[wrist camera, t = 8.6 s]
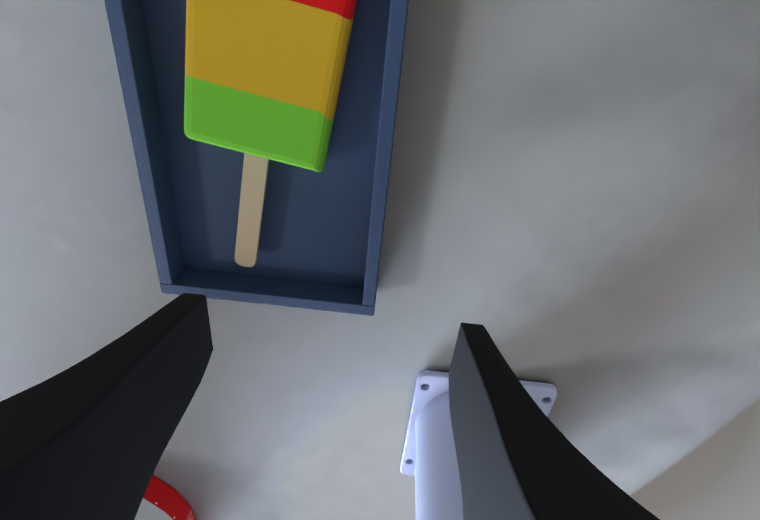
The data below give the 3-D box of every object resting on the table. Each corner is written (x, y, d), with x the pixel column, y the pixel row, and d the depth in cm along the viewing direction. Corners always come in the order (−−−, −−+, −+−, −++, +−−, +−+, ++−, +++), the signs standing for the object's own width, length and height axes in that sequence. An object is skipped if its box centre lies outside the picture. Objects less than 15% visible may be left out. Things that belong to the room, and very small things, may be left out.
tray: (376, 291, 24) (373, 316, 22) (179, 270, 24) (161, 293, 22) (429, -187, 14) (432, -209, 12) (97, -225, 14) (54, -251, 12)
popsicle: (380, -110, 15) (376, -119, 13) (306, 267, 23) (298, 290, 21) (208, -163, 14) (182, -180, 13) (194, 240, 22) (177, 262, 21)
